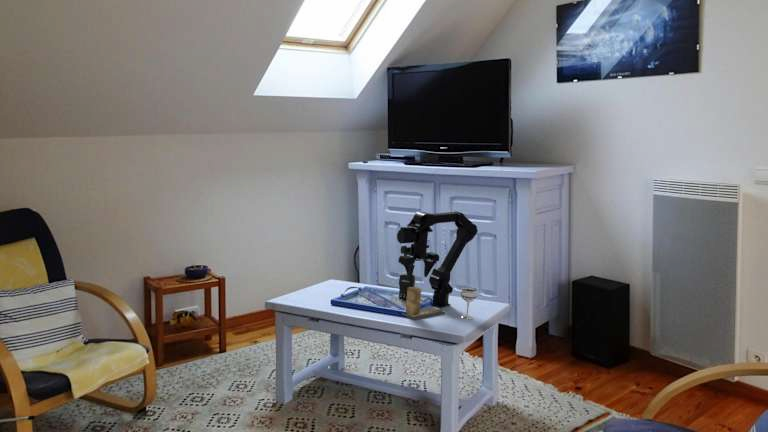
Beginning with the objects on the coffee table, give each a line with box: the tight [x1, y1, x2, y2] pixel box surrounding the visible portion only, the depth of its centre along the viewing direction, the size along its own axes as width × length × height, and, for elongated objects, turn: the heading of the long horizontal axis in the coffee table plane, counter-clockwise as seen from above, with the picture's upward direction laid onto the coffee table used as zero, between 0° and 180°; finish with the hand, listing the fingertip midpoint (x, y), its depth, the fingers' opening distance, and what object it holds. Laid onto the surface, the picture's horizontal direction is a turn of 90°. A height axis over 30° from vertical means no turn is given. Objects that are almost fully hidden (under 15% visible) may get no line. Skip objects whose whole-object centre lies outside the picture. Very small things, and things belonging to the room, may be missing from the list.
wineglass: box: [460, 286, 478, 320], centre depth 277 cm, size 7×7×12 cm
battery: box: [398, 272, 416, 300], centre depth 297 cm, size 7×4×11 cm, turn 70°
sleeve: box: [405, 286, 422, 316], centre depth 274 cm, size 4×4×11 cm
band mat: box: [401, 305, 446, 321], centre depth 279 cm, size 17×11×2 cm, turn 129°
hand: (417, 278), depth 284 cm, fingers open, 9 cm apart
